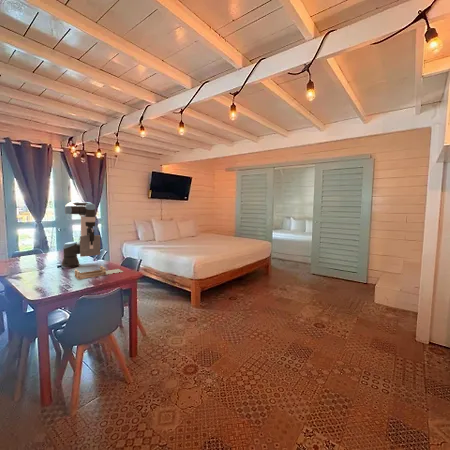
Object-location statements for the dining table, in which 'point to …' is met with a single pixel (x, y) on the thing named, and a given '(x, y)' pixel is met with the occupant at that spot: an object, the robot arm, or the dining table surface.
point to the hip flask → (85, 246)
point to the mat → (113, 271)
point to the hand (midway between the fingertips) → (90, 248)
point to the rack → (90, 273)
